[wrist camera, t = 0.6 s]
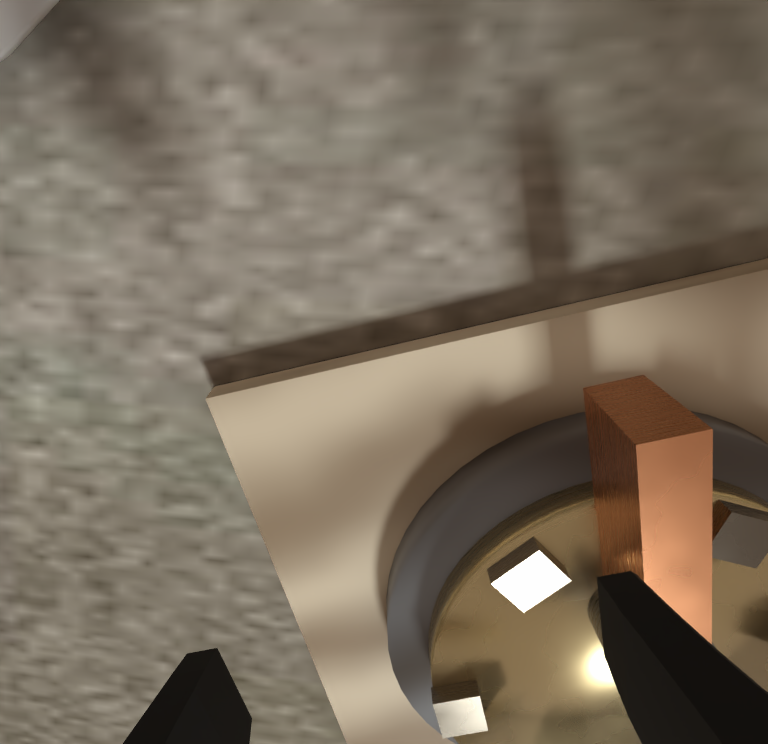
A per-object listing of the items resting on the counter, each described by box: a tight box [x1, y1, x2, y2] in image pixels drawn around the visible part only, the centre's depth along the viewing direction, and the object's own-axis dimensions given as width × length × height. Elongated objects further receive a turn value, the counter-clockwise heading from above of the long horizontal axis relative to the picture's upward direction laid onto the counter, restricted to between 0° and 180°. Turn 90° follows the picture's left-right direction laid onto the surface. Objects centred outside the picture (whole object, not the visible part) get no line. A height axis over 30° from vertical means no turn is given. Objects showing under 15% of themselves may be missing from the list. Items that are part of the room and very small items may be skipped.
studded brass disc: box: [428, 375, 768, 744], centre depth 16 cm, size 18×14×4 cm
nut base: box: [206, 258, 768, 744], centre depth 20 cm, size 24×24×2 cm
